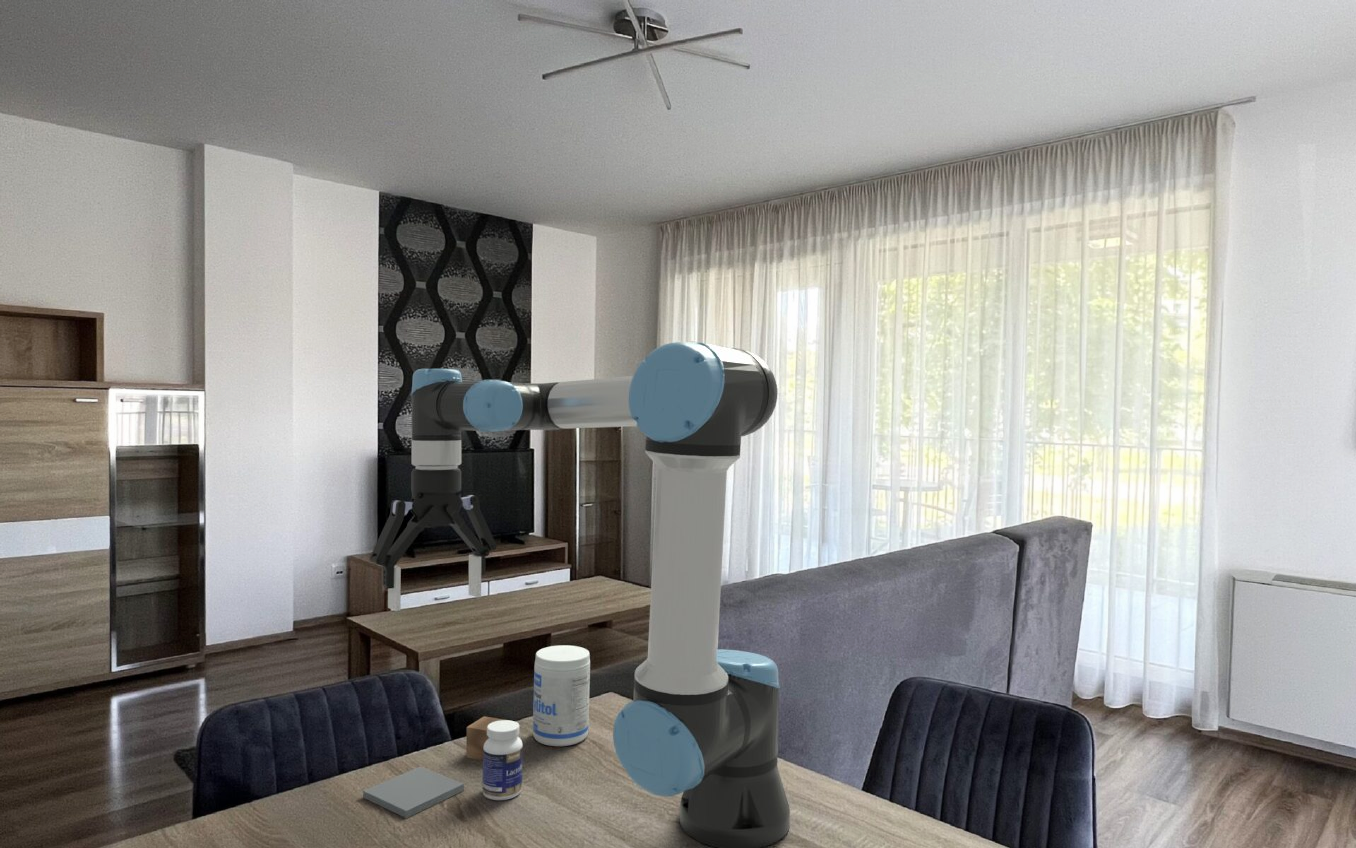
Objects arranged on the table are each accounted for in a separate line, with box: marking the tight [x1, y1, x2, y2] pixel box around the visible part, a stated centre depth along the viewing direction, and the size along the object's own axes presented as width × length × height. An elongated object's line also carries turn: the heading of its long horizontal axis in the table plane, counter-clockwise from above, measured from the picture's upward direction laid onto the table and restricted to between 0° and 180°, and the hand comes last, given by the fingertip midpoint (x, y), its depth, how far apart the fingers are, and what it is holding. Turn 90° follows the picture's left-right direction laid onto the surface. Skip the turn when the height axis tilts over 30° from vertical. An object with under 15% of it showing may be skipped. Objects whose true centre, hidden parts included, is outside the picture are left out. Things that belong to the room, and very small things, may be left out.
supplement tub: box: [532, 644, 591, 747], centre depth 139 cm, size 10×10×15 cm
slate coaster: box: [362, 765, 465, 819], centre depth 118 cm, size 10×10×1 cm
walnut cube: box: [465, 715, 505, 761], centre depth 132 cm, size 5×5×5 cm
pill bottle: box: [482, 719, 524, 801], centre depth 118 cm, size 6×6×10 cm
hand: (435, 602), depth 127 cm, fingers open, 13 cm apart
